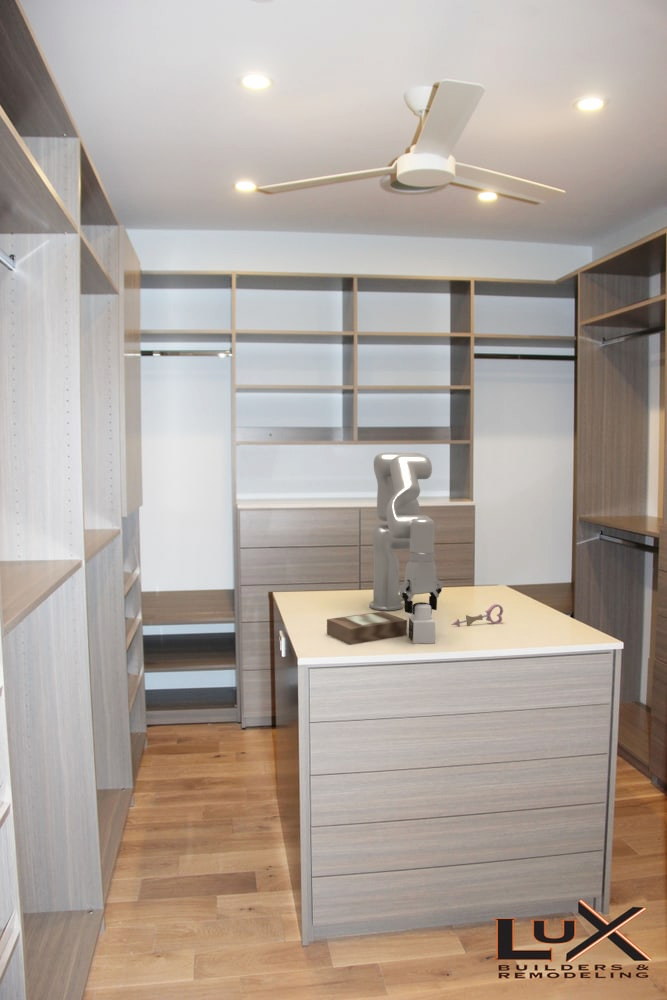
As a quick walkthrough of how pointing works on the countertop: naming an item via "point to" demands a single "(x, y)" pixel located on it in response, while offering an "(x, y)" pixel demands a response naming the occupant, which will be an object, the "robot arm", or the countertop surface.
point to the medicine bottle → (421, 624)
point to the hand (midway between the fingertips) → (420, 611)
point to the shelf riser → (366, 627)
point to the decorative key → (479, 617)
